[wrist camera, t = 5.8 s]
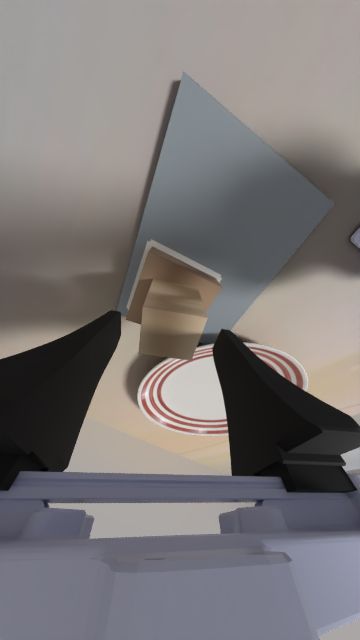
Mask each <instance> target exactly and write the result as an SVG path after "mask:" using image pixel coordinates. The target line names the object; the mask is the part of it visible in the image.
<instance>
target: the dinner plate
mask: <svg viewBox="0 0 360 640" xmlns="http://www.w3.org/2000/svg"><path fill="white" fill-rule="evenodd" d="M243 343H244V344H245V345H246V346H247V347H248V348H249V349H250V350H251V351H252V352H253V353H255V354H256V355H257V356H258V357H259V358H260V359H261V360H263V361H264V362H265V363H266V364H267V365H269V366H270V367H271V368H272V369H274V370H275V371H276V372H278V373H279V374H280V375H282V376H283V377H285V378H286V379H288V380H289V381H290V382H292V383H293V384H295V385H296V386H298V387H300V388H301V389H303V390H304V391H307V387H308V377H307V374H306V371H305V370H304V368H303V366H302V365H301V364H300V363H299V362H298V361H297V360H296V359H295V358H293V357H292V356H290V355H289V354H287V353H285V352H282V351H281V350H278V349H275V348H272V347H269V346H265V345H261V344H255V343H246V342H243ZM213 346H214V344H208V345H203V346H199V347H197V348H196V350H195V353H194V355H193V358H192V361H190V360H182V359H174V358H167V359H165V360H163V361H162V362H160V363H159V364H157V365H156V366H155V367H154V368H152V369H151V370H150V371H149V372H148V373H147V374H146V376H145V377H144V378H143V380H142V381H141V383H140V385H139V388H138V392H137V401H138V405H139V407H140V409H141V411H142V412H143V413H144V415H145V416H146V417H147V418H148V419H149V420H151V421H152V422H154V423H155V424H157V425H159V426H161V427H163V428H165V429H168V430H171V431H175V432H178V433H183V434H189V435H198V436H222V435H229V434H228V425H227V418H226V411H225V405H224V399H223V394H222V389H221V386H220V382H219V378H218V375H217V371H216V367H215V364H214V359H213V351H212V348H213Z"/></svg>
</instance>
